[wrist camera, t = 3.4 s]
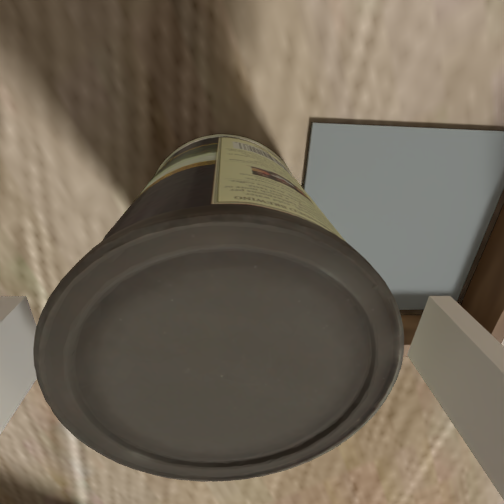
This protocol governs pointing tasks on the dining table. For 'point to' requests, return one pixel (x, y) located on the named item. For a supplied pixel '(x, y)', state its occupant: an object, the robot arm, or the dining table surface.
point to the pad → (408, 199)
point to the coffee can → (219, 325)
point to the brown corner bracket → (479, 290)
